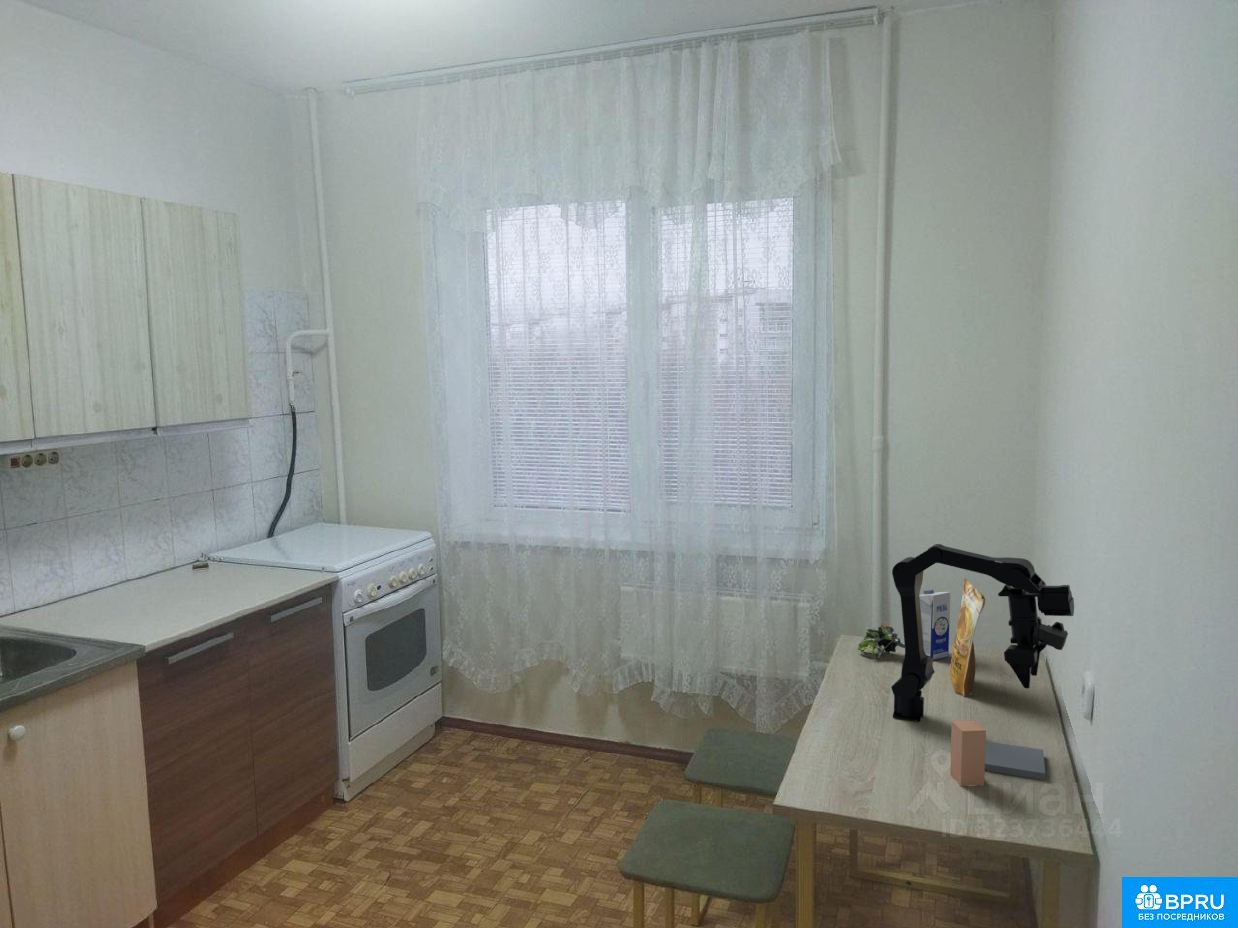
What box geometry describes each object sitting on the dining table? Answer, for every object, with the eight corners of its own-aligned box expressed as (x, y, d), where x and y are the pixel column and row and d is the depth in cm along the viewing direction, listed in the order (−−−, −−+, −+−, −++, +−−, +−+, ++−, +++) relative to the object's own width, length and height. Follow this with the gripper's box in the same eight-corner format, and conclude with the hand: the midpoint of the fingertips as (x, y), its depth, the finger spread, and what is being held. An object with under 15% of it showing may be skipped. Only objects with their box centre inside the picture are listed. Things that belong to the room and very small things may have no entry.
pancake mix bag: (972, 674, 242) (975, 576, 239) (982, 700, 224) (986, 595, 221) (946, 672, 244) (949, 575, 241) (955, 697, 226) (958, 593, 222)
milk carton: (931, 660, 253) (933, 594, 251) (914, 654, 259) (915, 589, 257) (949, 656, 257) (950, 591, 254) (931, 650, 263) (933, 586, 260)
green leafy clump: (886, 670, 262) (912, 641, 258) (877, 674, 252) (903, 644, 249) (857, 644, 267) (882, 615, 263) (847, 647, 257) (873, 617, 254)
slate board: (983, 769, 186) (983, 763, 186) (984, 746, 197) (984, 740, 197) (1044, 780, 181) (1045, 773, 181) (1042, 755, 192) (1043, 749, 192)
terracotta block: (950, 774, 184) (951, 721, 183) (973, 773, 185) (974, 720, 183) (960, 786, 179) (962, 731, 178) (984, 785, 180) (985, 730, 178)
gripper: (1055, 626, 185) (1063, 697, 185) (1069, 605, 200) (1075, 671, 201) (1000, 624, 191) (1007, 693, 192) (1017, 604, 206) (1024, 668, 207)
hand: (1030, 681), depth 198 cm, fingers open, 9 cm apart
